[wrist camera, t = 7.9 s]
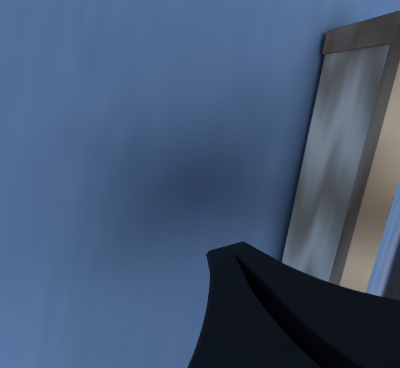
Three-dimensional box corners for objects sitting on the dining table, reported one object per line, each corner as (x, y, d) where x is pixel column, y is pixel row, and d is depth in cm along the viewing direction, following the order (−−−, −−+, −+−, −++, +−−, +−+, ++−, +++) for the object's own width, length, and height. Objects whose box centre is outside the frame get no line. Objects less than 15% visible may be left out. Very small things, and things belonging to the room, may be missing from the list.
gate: (290, 306, 23) (340, 376, 18) (269, 306, 23) (314, 378, 17) (351, 35, 18) (448, 13, 13) (326, 31, 18) (414, 6, 12)
